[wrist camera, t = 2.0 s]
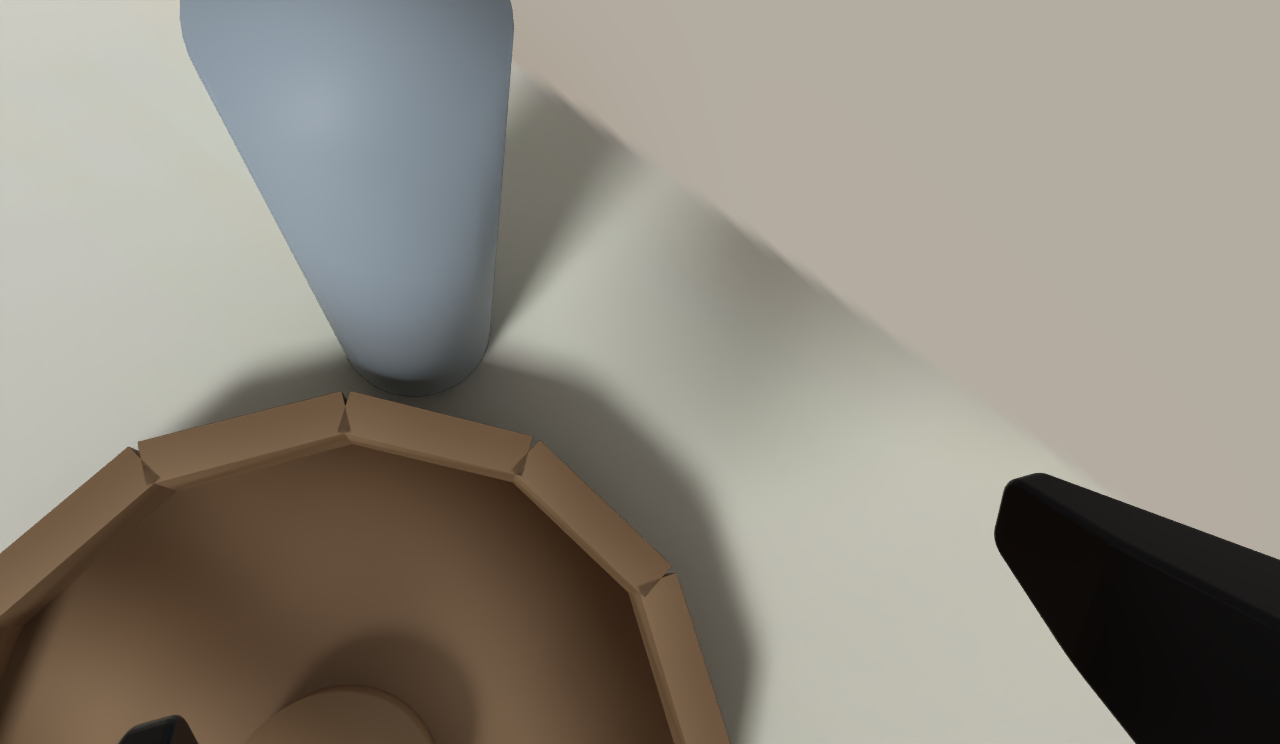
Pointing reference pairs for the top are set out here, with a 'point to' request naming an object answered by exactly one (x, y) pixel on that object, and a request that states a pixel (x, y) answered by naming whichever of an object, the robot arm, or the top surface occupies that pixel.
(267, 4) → the peg
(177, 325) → the top surface
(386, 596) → the tray
